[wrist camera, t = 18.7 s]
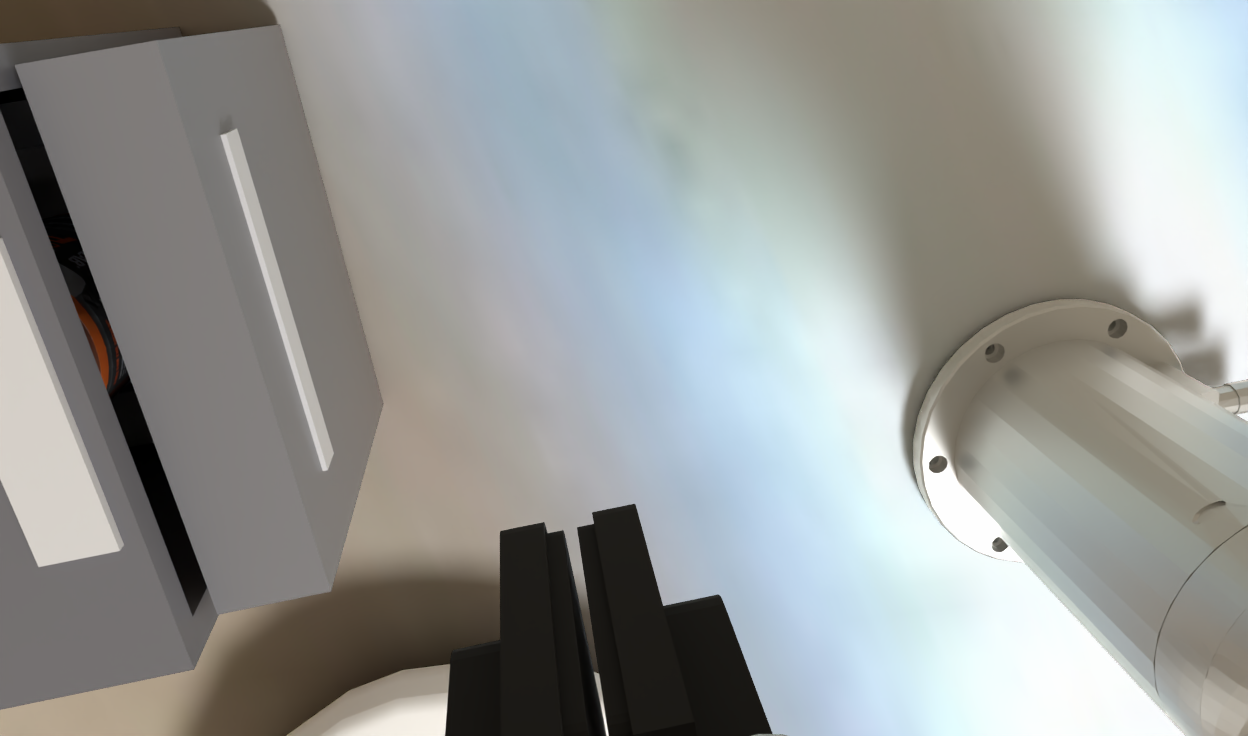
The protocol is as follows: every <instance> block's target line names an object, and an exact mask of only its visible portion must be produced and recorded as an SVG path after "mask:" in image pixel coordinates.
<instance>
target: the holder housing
mask: <svg viewBox="0 0 1248 736" xmlns="http://www.w3.org/2000/svg"><path fill="white" fill-rule="evenodd" d="M179 37H182V35H181V32H180V29H179V27H172V28H162V29H151V30H141V31H130V32H120V33H109V34H99V35H88V36H78V37H67V38H57V39H46V40H36V41H25V42H15V43H4V44H0V104H5V103H11V102H17V101H22V100H27V97H26V95H25V92H24V89H23V87H22V84H21V81H20V78H19V76H18V73H17V70H16V68H15V65H18V64H23V63H29V62H35V61H41V60H46V59H52V58H58V57H64V56H69V55H75V54H81V53H87V52H92V51H98V50H104V49H110V48H115V47H121V46H127V45H133V44H138V43H144V42H150V41H156V40H163V39H171V38H179ZM217 617H218V615H217V612H216V609H215V607H214V604H213V601H212V599H211V596H210V593H209V590H208V588H207V585H206V582H205V580H204V577H203V574H202V571H201V569H200V566H199V563H198V561H197V558H196V555H195V553H194V550H193V547H192V544H191V542H190V539H189V536H188V534H187V531H186V528H185V525H184V523H183V520H182V517H181V515H180V512H179V509H178V506H177V504H176V501H175V498H174V496H173V493H172V490H171V488H170V485H169V482H168V479H167V477H166V474H165V471H164V469H163V466H162V463H161V460H160V458H159V455H158V452H157V450H156V447H155V444H154V443H149V444H144V445H139V446H133V447H128V445H127V442H126V440H125V437H124V434H123V432H122V429H121V427H120V424H119V421H118V419H117V416H116V413H115V411H114V408H113V406H112V403H111V400H110V398H109V395H108V392H107V390H106V387H105V385H104V382H103V379H102V377H101V374H100V371H99V369H98V366H97V363H96V361H95V358H94V356H93V353H92V350H91V348H90V345H89V342H88V340H87V337H86V335H85V332H84V329H83V327H82V324H81V321H80V319H79V316H78V313H77V311H76V308H75V306H74V303H73V300H72V298H71V295H70V292H69V290H68V287H67V285H66V282H65V279H64V277H63V274H62V271H61V269H60V266H59V263H58V261H57V258H56V256H55V253H54V250H53V248H52V245H51V242H50V240H49V237H48V235H47V232H46V229H45V227H44V224H43V221H42V219H41V216H40V214H39V211H38V208H37V206H36V203H35V200H34V198H33V195H32V192H31V190H30V187H29V185H28V182H27V179H26V177H25V174H24V171H23V169H22V166H21V164H20V161H19V158H18V156H17V153H16V150H15V148H14V145H13V142H12V140H11V137H10V135H9V132H8V129H7V127H6V124H5V121H4V119H3V116H2V114H1V111H0V710H1V709H6V708H11V707H16V706H20V705H25V704H30V703H35V702H40V701H45V700H49V699H54V698H59V697H64V696H69V695H73V694H78V693H83V692H88V691H93V690H98V689H102V688H107V687H112V686H117V685H122V684H127V683H131V682H136V681H141V680H146V679H151V678H156V677H160V676H165V675H170V674H175V673H180V672H184V671H189V670H194V668H195V666H196V664H197V662H198V660H199V657H200V655H201V653H202V651H203V648H204V646H205V644H206V642H207V640H208V637H209V635H210V633H211V631H212V629H213V626H214V624H215V622H216V620H217Z"/></svg>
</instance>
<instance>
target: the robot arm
mask: <svg viewBox="0 0 1248 736" xmlns="http://www.w3.org/2000/svg"><path fill="white" fill-rule="evenodd" d="M989 346H990V348H989V349H988V350H987V351H986V349H987V348H988V347H989ZM1246 412H1248V379H1247V380H1242V381H1237V382H1232V383H1227V384H1224V385H1223V386H1220V387H1215V388H1211V387H1209V386H1207V385H1205V384H1203V383H1202V382H1200V381H1198V380H1196V379H1194V378H1193V377H1191V376H1189V375H1187V374H1185V373H1184V371H1183V368H1182V365H1181V362H1180V360H1179V358H1178V356H1177V355H1176V353H1175V352H1174V350H1173V348H1172V347H1171V345H1170V344H1169V342H1168V341H1167V340H1166V339H1165V338H1164V337H1163V336H1162V335H1161V334H1160V333H1159V332H1158V331H1157V330H1156V329H1155V328H1154V327H1153V326H1152V325H1150V324H1148V323H1146V322H1145V321H1143V320H1141V319H1140V318H1138V317H1136V316H1135V315H1133V314H1131V313H1129V312H1127V311H1124V310H1122V309H1120V308H1117V307H1115V306H1113V305H1111V304H1107V303H1102V302H1097V301H1092V300H1087V299H1057V300H1052V301H1047V302H1042V303H1037V304H1032V305H1029V306H1027V307H1024V308H1022V309H1019V310H1017V311H1014V312H1011V313H1009V314H1006V315H1004V316H1003V317H1001V318H999V319H998V320H996V321H994V322H993V323H991V324H989V325H988V326H986V327H984V328H983V329H981V330H980V331H979V332H978V333H976V334H975V335H974V336H973V337H972V338H970V339H969V340H968V341H967V342H966V343H964V344H963V345H962V346H961V347H960V348H959V349H958V350H957V351H956V352H955V354H954V355H953V356H952V357H951V358H950V359H949V361H948V362H947V363H946V364H945V365H944V366H943V367H942V369H941V370H940V372H939V374H938V375H937V377H936V379H935V380H934V382H933V383H932V385H931V387H930V388H929V390H928V392H927V394H926V397H925V399H924V402H923V404H922V407H921V409H920V412H919V415H918V418H917V423H916V428H915V434H914V439H913V466H914V470H915V475H916V479H917V483H918V488H919V490H920V492H921V494H922V496H923V498H924V500H925V502H926V504H927V506H928V508H929V509H930V510H931V512H932V513H933V514H934V516H935V517H936V518H937V520H938V521H939V522H940V523H941V525H942V526H943V527H944V528H945V529H946V530H947V531H948V532H949V533H950V534H951V535H952V536H953V537H955V538H956V539H957V540H958V541H960V542H961V543H963V544H964V545H966V546H968V547H969V548H971V549H973V550H974V551H976V552H978V553H981V554H984V555H986V556H989V557H991V558H995V559H1000V560H1007V561H1014V562H1024V563H1025V564H1026V565H1027V566H1028V568H1029V569H1030V570H1031V571H1032V572H1033V573H1034V574H1035V575H1036V576H1037V577H1038V578H1039V579H1040V580H1041V582H1042V583H1043V584H1044V585H1045V586H1046V587H1047V588H1048V589H1049V590H1050V591H1051V592H1052V593H1053V594H1054V595H1055V597H1056V598H1057V599H1058V600H1059V601H1060V602H1061V603H1062V604H1063V605H1064V606H1065V607H1066V608H1067V609H1068V611H1069V612H1070V613H1071V614H1072V615H1073V616H1074V617H1075V618H1076V619H1077V620H1078V621H1079V622H1080V623H1081V625H1082V626H1083V627H1084V628H1085V629H1086V630H1087V631H1088V632H1089V633H1090V634H1091V635H1092V636H1093V637H1094V638H1095V640H1096V641H1097V642H1098V643H1099V644H1100V645H1101V646H1102V647H1103V648H1104V649H1105V650H1106V651H1107V652H1108V654H1109V655H1110V656H1111V657H1112V658H1113V659H1114V660H1115V661H1116V662H1117V663H1118V664H1119V665H1120V666H1121V667H1122V669H1123V670H1124V671H1125V672H1126V673H1127V674H1128V675H1129V676H1130V677H1131V678H1132V679H1133V680H1134V681H1135V683H1136V684H1137V685H1138V686H1139V687H1140V688H1141V689H1142V690H1143V691H1144V692H1145V693H1146V694H1147V695H1148V697H1149V698H1150V699H1151V700H1152V701H1153V702H1154V703H1155V704H1156V705H1157V706H1158V707H1159V708H1160V709H1161V710H1162V712H1163V713H1164V714H1165V715H1166V716H1167V717H1168V718H1169V719H1170V720H1171V721H1172V722H1173V723H1174V724H1175V726H1176V727H1177V728H1178V729H1179V730H1180V731H1181V732H1182V733H1183V734H1184V735H1185V736H1248V422H1247V421H1246V420H1244V419H1242V418H1240V417H1239V416H1237V414H1242V413H1246ZM933 457H934V458H933ZM932 458H933V459H932ZM592 514H593V520H594V524H592V525H587V526H582V527H577V530H578V537H579V543H580V550H581V556H582V563H583V570H584V576H585V583H586V590H587V596H588V603H589V610H590V616H591V623H592V630H593V636H594V643H595V649H596V656H597V663H598V669H599V676H600V683H601V689H602V696H603V703H604V709H605V716H606V722H607V728H608V734H609V736H787V735H783V734H772V731H771V729H770V726H769V723H768V721H767V718H766V715H765V713H764V710H763V707H762V704H761V702H760V699H759V696H758V694H757V691H756V688H755V686H754V683H753V680H752V678H751V675H750V672H749V670H748V667H747V664H746V662H745V659H744V656H743V654H742V651H741V648H740V646H739V643H738V640H737V638H736V635H735V632H734V629H733V627H732V624H731V621H730V619H729V616H728V613H727V611H726V608H725V605H724V603H723V601H722V598H721V596H720V595H714V596H709V597H704V598H700V599H695V600H690V601H685V602H681V603H676V604H671V605H666V606H663V604H662V601H661V597H660V593H659V590H658V586H657V582H656V578H655V575H654V571H653V567H652V564H651V560H650V556H649V553H648V549H647V545H646V542H645V538H644V534H643V531H642V527H641V523H640V520H639V516H638V512H637V509H636V505H635V504H631V505H627V506H622V507H617V508H612V509H607V510H602V511H597V512H592ZM445 736H606V730H605V724H604V719H603V714H602V709H601V704H600V699H599V694H598V690H597V685H596V680H595V675H594V671H593V666H592V661H591V656H590V652H589V647H588V642H587V638H586V633H585V628H584V623H583V619H582V614H581V609H580V604H579V600H578V595H577V590H576V586H575V581H574V576H573V571H572V567H571V562H570V557H569V553H568V548H567V543H566V539H565V534H564V531H563V530H562V531H557V532H553V533H548V534H547V530H546V526H545V523H544V522H543V523H538V524H533V525H528V526H523V527H518V528H513V529H508V530H504V531H500V640H499V641H494V642H489V643H484V644H480V645H475V646H470V647H465V648H460V649H456V650H454V651H453V652H452V654H451V660H450V673H449V687H448V701H447V716H446V730H445Z"/></svg>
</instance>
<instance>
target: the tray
mask: <svg viewBox="0 0 1248 736" xmlns="http://www.w3.org/2000/svg"><path fill="white" fill-rule="evenodd" d="M15 68H16V70H17V73H18V76H19V78H20V81H21V84H22V87H23V89H24V92H25V95H26V97H27V100H22V101H17V102H11V103H5V104H0V111H1V114H2V116H3V119H4V121H5V124H6V127H7V129H8V132H9V135H10V137H11V140H12V142H13V145H14V148H15V150H16V153H17V156H18V158H19V161H20V164H21V166H22V169H23V171H24V174H25V177H26V179H27V182H28V185H29V187H30V190H31V192H32V195H33V198H34V200H35V203H36V206H37V208H38V211H39V214H40V216H41V219H44V218H48V217H53V216H55V215H60V214H65V213H69V214H70V217H71V219H72V222H73V225H74V227H75V230H76V233H77V236H78V238H79V241H80V244H81V246H82V249H83V252H84V255H85V257H86V260H87V263H88V265H89V268H90V271H91V274H92V276H93V279H94V282H95V284H96V287H97V290H98V292H99V295H100V298H101V301H102V303H103V306H104V309H105V311H106V314H107V317H108V320H109V322H110V325H111V328H112V330H113V333H114V336H115V339H116V341H117V344H118V347H119V349H120V352H121V355H122V357H123V360H124V363H125V366H126V368H127V371H128V374H129V376H130V379H131V380H130V381H129V382H128V383H127V384H126V385H125V386H124V387H123V388H122V389H121V390H120V391H119V392H118V393H117V394H116V395H115V396H114V397H113V398H112V399H111V403H112V406H113V408H114V411H115V413H116V416H117V419H118V421H119V424H120V427H121V429H122V432H123V434H124V437H125V440H126V442H127V445H128V447H133V446H139V445H144V444H149V443H154V444H155V447H156V450H157V452H158V455H159V458H160V460H161V463H162V466H163V469H164V471H165V474H166V477H167V479H168V482H169V485H170V488H171V490H172V493H173V496H174V498H175V501H176V504H177V506H178V509H179V512H180V515H181V517H182V520H183V523H184V525H185V528H186V531H187V534H188V536H189V539H190V542H191V544H192V547H193V550H194V553H195V555H196V558H197V561H198V563H199V566H200V569H201V571H202V574H203V577H204V580H205V582H206V585H207V588H208V590H209V593H210V596H211V599H212V601H213V604H214V607H215V609H216V612H217V615H219V614H223V613H228V612H233V611H238V610H243V609H248V608H253V607H258V606H263V605H267V604H272V603H277V602H282V601H287V600H292V599H297V598H302V597H307V596H311V595H316V594H321V593H326V592H331V590H332V586H333V583H334V579H335V576H336V572H337V568H338V565H339V561H340V558H341V554H342V550H343V547H344V543H345V540H346V536H347V533H348V529H349V525H350V522H351V518H352V515H353V511H354V508H355V504H356V500H357V497H358V493H359V490H360V486H361V482H362V479H363V475H364V472H365V468H366V465H367V461H368V457H369V454H370V450H371V447H372V443H373V439H374V436H375V432H376V429H377V425H378V422H379V418H380V414H381V411H382V407H383V400H382V397H381V393H380V389H379V386H378V382H377V378H376V375H375V371H374V367H373V364H372V360H371V356H370V353H369V349H368V345H367V342H366V338H365V334H364V331H363V327H362V323H361V320H360V316H359V312H358V309H357V305H356V301H355V298H354V294H353V290H352V287H351V283H350V279H349V276H348V272H347V268H346V265H345V261H344V257H343V254H342V250H341V246H340V243H339V239H338V235H337V232H336V228H335V224H334V221H333V217H332V213H331V210H330V206H329V202H328V199H327V195H326V191H325V188H324V184H323V180H322V177H321V173H320V169H319V166H318V162H317V158H316V155H315V151H314V147H313V144H312V140H311V136H310V133H309V129H308V125H307V122H306V118H305V114H304V111H303V107H302V103H301V100H300V96H299V92H298V89H297V85H296V81H295V78H294V74H293V70H292V67H291V63H290V59H289V56H288V52H287V48H286V45H285V41H284V37H283V34H282V30H281V26H280V25H272V26H264V27H256V28H249V29H241V30H233V31H225V32H217V33H210V34H202V35H194V36H186V37H179V38H171V39H163V40H156V41H150V42H144V43H138V44H133V45H127V46H121V47H115V48H110V49H104V50H98V51H92V52H87V53H81V54H75V55H69V56H64V57H58V58H52V59H46V60H41V61H35V62H29V63H23V64H18V65H15Z"/></svg>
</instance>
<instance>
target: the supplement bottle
mask: <svg viewBox="0 0 1248 736" xmlns="http://www.w3.org/2000/svg"><path fill="white" fill-rule="evenodd" d="M42 221H43V224H44V227H45V229H46V232H47V235H48V237H49V240H50V242H51V245H52V248H53V250H54V253H55V256H56V258H57V261H58V263H59V266H60V269H61V271H62V274H63V277H64V279H65V282H66V285H67V287H68V290H69V292H70V295H71V298H72V300H73V303H74V306H75V308H76V311H77V313H78V316H79V319H80V321H81V324H82V327H83V329H84V332H85V335H86V337H87V340H88V342H89V345H90V348H91V350H92V353H93V356H94V358H95V361H96V363H97V366H98V369H99V371H100V374H101V377H102V379H103V382H104V385H105V387H106V390H107V392H108V395H109V398H110V400H111V399H112V398H113V397H114V396H115V395H116V394H117V393H118V392H119V391H120V390H121V389H122V388H123V387H124V386H125V385H126V384H127V383H128V382H129V381H130V380H131V379H130V376H129V374H128V371H127V368H126V366H125V363H124V360H123V357H122V355H121V352H120V349H119V347H118V344H117V341H116V339H115V336H114V333H113V330H112V328H111V325H110V322H109V320H108V317H107V314H106V311H105V309H104V306H103V303H102V301H101V298H100V295H99V292H98V290H97V287H96V284H95V282H94V279H93V276H92V274H91V271H90V268H89V265H88V263H87V260H86V257H85V255H84V252H83V249H82V246H81V244H80V241H79V238H78V236H77V233H76V230H75V227H74V225H73V222H72V219H71V217H70V214H69V213H65V214H60V215H55V216H53V217H48V218H44V219H42Z"/></svg>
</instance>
